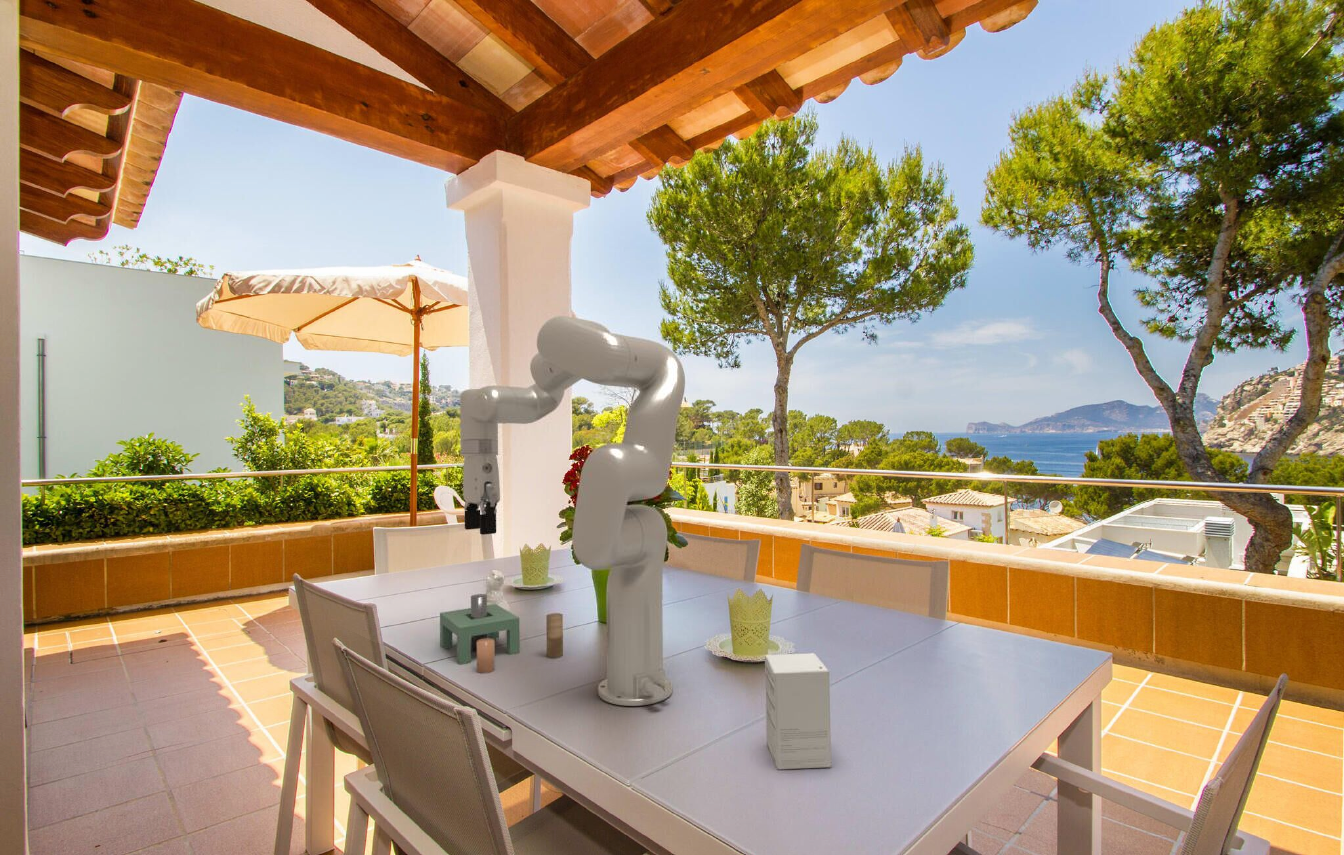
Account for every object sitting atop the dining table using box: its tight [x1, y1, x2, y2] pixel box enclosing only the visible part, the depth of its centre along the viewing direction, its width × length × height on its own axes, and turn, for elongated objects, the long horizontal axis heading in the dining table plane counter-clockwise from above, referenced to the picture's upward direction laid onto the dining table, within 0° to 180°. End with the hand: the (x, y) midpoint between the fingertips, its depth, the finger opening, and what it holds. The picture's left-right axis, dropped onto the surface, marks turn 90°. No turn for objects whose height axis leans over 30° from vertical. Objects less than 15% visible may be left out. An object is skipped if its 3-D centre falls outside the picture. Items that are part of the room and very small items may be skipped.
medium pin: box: [545, 612, 564, 659], centre depth 131 cm, size 3×3×8 cm
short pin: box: [476, 638, 496, 674], centre depth 123 cm, size 3×3×6 cm
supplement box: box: [764, 652, 832, 770], centre depth 88 cm, size 7×7×13 cm
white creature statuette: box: [484, 569, 511, 613], centre depth 158 cm, size 10×9×12 cm
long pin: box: [470, 593, 487, 653], centre depth 135 cm, size 3×3×11 cm
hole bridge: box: [439, 604, 521, 666], centre depth 135 cm, size 14×12×7 cm
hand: (480, 531), depth 136 cm, fingers open, 9 cm apart
